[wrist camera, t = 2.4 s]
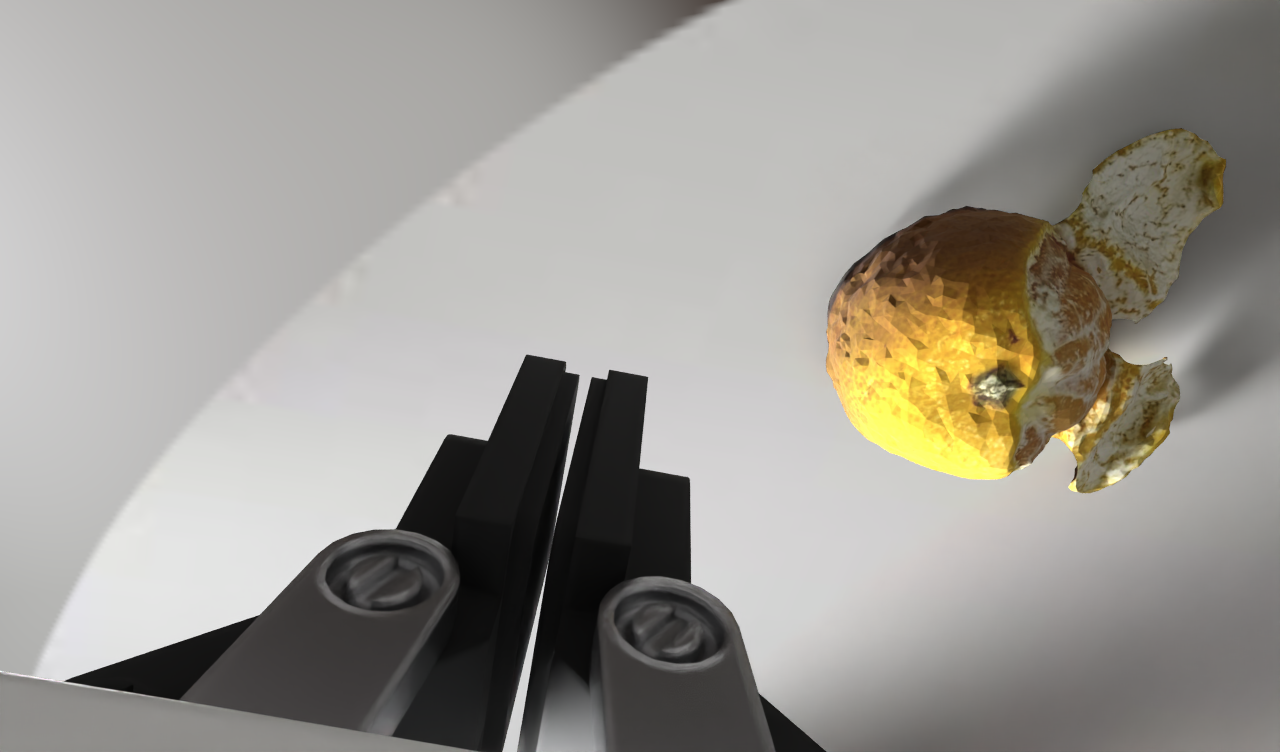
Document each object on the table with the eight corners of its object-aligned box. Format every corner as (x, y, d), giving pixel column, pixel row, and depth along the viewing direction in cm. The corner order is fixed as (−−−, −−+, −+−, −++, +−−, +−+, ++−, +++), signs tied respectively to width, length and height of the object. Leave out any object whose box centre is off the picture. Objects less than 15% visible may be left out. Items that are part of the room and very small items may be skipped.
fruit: (1162, 468, 21) (1250, 559, 18) (820, 483, 22) (842, 573, 19) (1226, 121, 18) (1348, 152, 14) (819, 152, 19) (846, 189, 15)
